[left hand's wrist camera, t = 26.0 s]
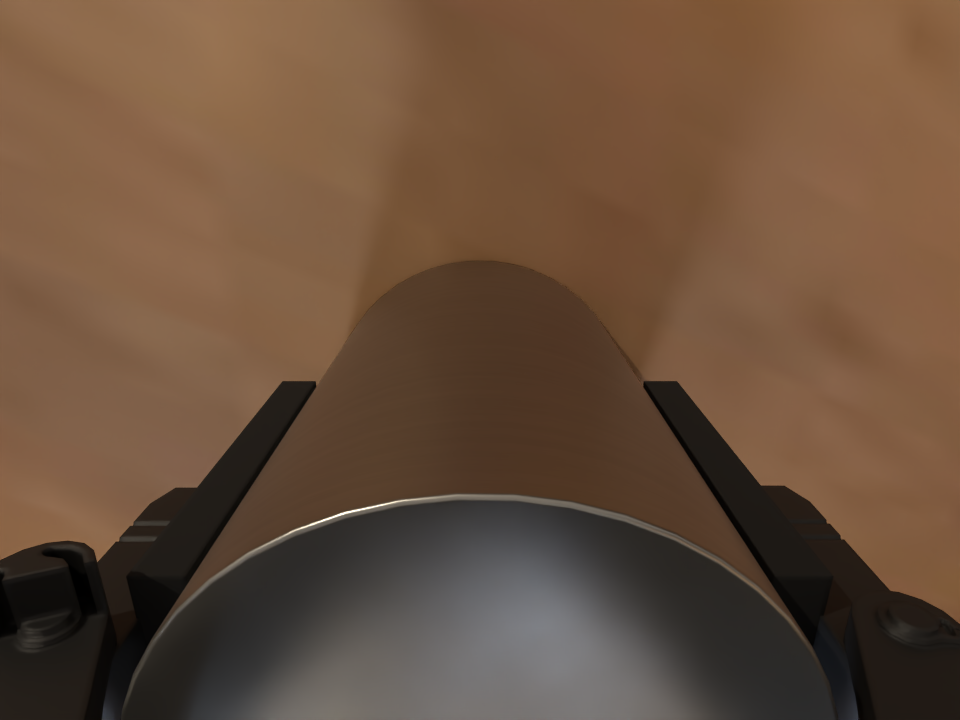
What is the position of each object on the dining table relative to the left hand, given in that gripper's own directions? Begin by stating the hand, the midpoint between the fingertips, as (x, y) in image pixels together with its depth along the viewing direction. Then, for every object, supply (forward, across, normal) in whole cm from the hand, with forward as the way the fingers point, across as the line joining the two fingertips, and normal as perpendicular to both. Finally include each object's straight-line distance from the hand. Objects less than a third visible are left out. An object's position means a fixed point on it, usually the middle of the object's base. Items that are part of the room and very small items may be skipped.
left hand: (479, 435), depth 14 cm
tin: (+2, 0, 0) cm, 2 cm away
